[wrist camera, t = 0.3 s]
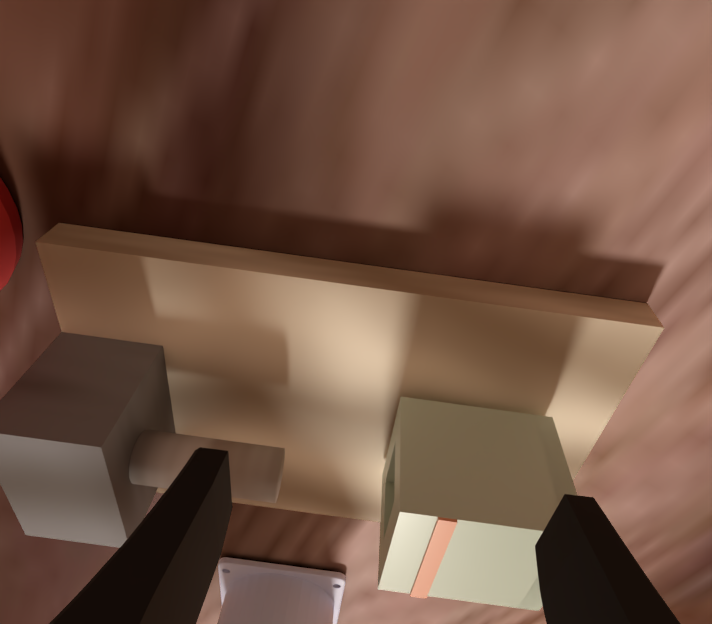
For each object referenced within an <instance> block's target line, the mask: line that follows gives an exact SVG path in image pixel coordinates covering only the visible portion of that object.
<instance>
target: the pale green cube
mask: <svg viewBox="0 0 712 624" xmlns="http://www.w3.org/2000/svg"><path fill="white" fill-rule="evenodd" d="M564 494H569V495H577V492H576V489H575V486H574V483H573V480H572V477H571V474H570V471H569V467H568V464H567V461H566V458H565V455H564V452H563V449H562V445H561V442H560V439H559V436H558V433H557V430H556V427H555V423H554V420H553V417H548V416H540V415H533V414H526V413H518V412H511V411H504V410H496V409H489V408H482V407H474V406H467V405H459V404H452V403H445V402H437V401H430V400H423V399H415V398H408V397H400V401H399V406H398V410H397V414H396V418H395V423H394V427H393V431H392V436H391V440H390V444H389V449H388V453H387V457H386V462H385V466H384V470H383V474H382V497H381V521H380V546H379V571H378V589H379V590H387V591H394V592H402V593H409V594H410V596H411V597H418V598H425V599H426V598H427V596H431V597H439V598H446V599H454V600H461V601H469V602H476V603H483V604H491V605H498V606H506V607H513V608H521V609H528V610H535V611H539V610H540V609H541V607H542V606H543V604H542V600H541V594H540V587H539V579H538V571H537V561H536V552H535V545H536V543H537V541H538V540H539V538H540V536H541V534H542V533H543V531H544V529H545V527H546V526H547V524H548V522H549V520H550V519H551V517H552V515H553V513H554V512H555V510H556V508H557V507H558V505H559V503H560V501H561V500H562V498H563V496H564Z"/></svg>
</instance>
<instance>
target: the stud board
mask: <svg viewBox="0 0 712 624" xmlns="http://www.w3.org/2000/svg"><path fill="white" fill-rule="evenodd" d="M35 243H36V246H37V250H38V253H39V256H40V260H41V263H42V267H43V270H44V273H45V277H46V280H47V284H48V287H49V290H50V294H51V297H52V301H53V304H54V307H55V311H56V314H57V318H58V321H59V324H60V328H61V331H62V332H61V333H60V334H59V336H58V337H57V338H56V339H55V340H54V341H53V342H52V343H51V344H50V346H49V347H48V348H47V349H46V350H45V351H44V352H43V353H42V355H41V356H40V357H39V358H38V359H37V360H36V361H35V362H34V363H33V365H32V366H31V367H30V368H29V369H28V370H27V371H26V372H25V374H24V375H23V376H22V377H21V378H20V379H19V380H18V381H17V382H16V384H15V385H14V386H13V387H12V388H11V389H10V390H9V391H8V392H7V394H6V395H5V396H4V397H3V398H2V399H1V400H0V484H1V486H2V488H3V490H4V492H5V494H6V496H7V498H8V500H9V502H10V504H11V506H12V508H13V510H14V512H15V514H16V516H17V518H18V520H19V522H20V524H21V526H22V528H23V530H24V532H25V534H26V535H30V536H37V537H45V538H52V539H60V540H67V541H74V542H82V543H89V544H97V545H104V546H112V547H119V548H120V547H121V546H122V545H123V544H124V542H125V541H126V540H127V539H128V538H129V536H130V535H131V534H132V533H133V532H134V530H135V529H136V528H137V527H138V525H139V524H140V523H141V522H142V521H143V519H144V517H145V515H146V513H147V511H148V508H149V506H150V504H151V502H152V500H153V497H154V495H155V493H156V492H159V493H165V492H166V490H167V489H168V488H169V486H170V485H171V484H172V482H173V481H174V480H175V478H176V477H177V476H178V474H179V473H180V471H181V470H182V469H183V467H184V466H185V464H186V463H187V461H188V460H189V459H190V457H191V456H192V454H193V453H194V451H195V450H196V449H198V448H200V447H202V448H210V449H218V450H226V451H228V453H229V467H230V481H231V495H232V502H233V503H240V504H247V505H255V506H262V507H270V508H277V509H285V510H292V511H299V512H307V513H314V514H322V515H329V516H336V517H344V518H351V519H359V520H366V521H373V522H380V521H381V497H382V474H383V470H384V466H385V462H386V457H387V453H388V449H389V444H390V440H391V436H392V431H393V427H394V423H395V418H396V414H397V410H398V406H399V401H400V397H408V398H415V399H423V400H430V401H437V402H445V403H452V404H459V405H467V406H474V407H482V408H489V409H496V410H504V411H511V412H518V413H526V414H533V415H540V416H548V417H553V420H554V423H555V427H556V430H557V433H558V436H559V439H560V442H561V445H562V449H563V452H564V455H565V458H566V461H567V464H568V467H569V471H570V474H571V477H572V480H574V478H575V476H576V475H577V473H578V471H579V470H580V468H581V466H582V465H583V463H584V461H585V460H586V458H587V456H588V454H589V453H590V451H591V449H592V448H593V446H594V444H595V443H596V441H597V439H598V438H599V436H600V434H601V433H602V431H603V429H604V428H605V426H606V424H607V423H608V421H609V419H610V418H611V416H612V414H613V413H614V411H615V409H616V408H617V406H618V404H619V403H620V401H621V399H622V398H623V396H624V394H625V393H626V391H627V389H628V388H629V386H630V384H631V383H632V381H633V379H634V378H635V376H636V374H637V373H638V371H639V369H640V368H641V366H642V364H643V362H644V361H645V359H646V357H647V356H648V354H649V352H650V351H651V349H652V347H653V346H654V344H655V342H656V341H657V339H658V337H659V336H660V334H661V332H662V331H663V329H664V327H663V325H662V324H661V322H660V321H659V320H658V318H657V317H656V315H655V314H654V312H653V311H652V309H651V308H650V306H649V305H648V304H647V303H641V302H634V301H626V300H619V299H612V298H605V297H597V296H590V295H583V294H575V293H568V292H561V291H554V290H546V289H539V288H532V287H524V286H517V285H510V284H502V283H495V282H488V281H481V280H473V279H466V278H459V277H451V276H444V275H437V274H429V273H422V272H415V271H408V270H400V269H393V268H386V267H378V266H371V265H364V264H356V263H349V262H342V261H335V260H327V259H320V258H313V257H305V256H298V255H291V254H283V253H276V252H269V251H262V250H254V249H247V248H240V247H232V246H225V245H218V244H211V243H203V242H196V241H189V240H181V239H174V238H167V237H159V236H152V235H145V234H138V233H130V232H123V231H116V230H108V229H101V228H94V227H86V226H79V225H72V224H65V223H58V224H57V225H56V226H54V227H53V228H52V229H51V230H49V231H48V232H47V233H46V234H44V235H43V236H42V237H41V238H39V239H38V240H37V241H35Z"/></svg>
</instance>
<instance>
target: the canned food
mask: <svg viewBox="0 0 712 624" xmlns="http://www.w3.org/2000/svg"><path fill="white" fill-rule="evenodd" d="M22 246H23V233H22V224H21V220H20V217H19V213H18V210H17V207H16V205H15V203H14V201H13V199H12V197H11V194H10V192H9V190H8V188H7V187H6V185H5V184H4V182H3V181H2V179H1V178H0V290H1V289H2V288H3V287H4V286H5V285H6V284H7V283H8V281H9V279H10V277H11V275H12V273H13V271H14V269H15V267H16V265H17V263H18V261H19V259H20V257H21V252H22Z"/></svg>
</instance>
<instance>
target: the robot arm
mask: <svg viewBox="0 0 712 624" xmlns="http://www.w3.org/2000/svg"><path fill="white" fill-rule="evenodd" d="M231 511H232V495H231V481H230V467H229V453H228V451H226V450H218V449H210V448H202V447H200V448H198V449H196V450H195V451H194V453H193V454H192V456H191V457H190V459H189V460H188V461H187V463H186V464H185V466H184V467H183V469H182V470H181V471H180V473H179V474H178V476H177V477H176V478H175V480H174V481H173V482H172V484H171V485H170V486H169V488H168V489H167V490H166V492H165V493H164V494H163V495H162V497H161V498H160V499H159V501H158V502H157V503H156V505H155V506H154V507H153V508H152V510H151V511H150V512H149V513H148V514H147V516H146V517H145V518H144V519H143V521H142V522H141V523H140V524H139V525H138V527H137V528H136V529H135V530H134V532H133V533H132V534H131V535H130V536H129V538H128V539H127V540H126V541H125V542H124V544H123V545H122V546H121V547H120V548H119V549H118V551H117V552H116V553H115V554H114V555H113V556H112V557H111V558H110V559H109V561H108V562H107V563H106V564H105V565H104V566H103V567H102V568H101V569H100V571H99V572H98V573H97V574H96V575H95V576H94V577H93V578H92V579H91V581H90V582H89V583H88V584H87V585H86V586H85V587H84V588H83V589H82V590H81V591H80V592H79V594H78V595H77V596H76V597H75V598H74V599H73V600H72V601H71V602H70V603H69V604H68V605H67V606H66V607H65V608H64V609H63V610H62V611H61V612H60V613H59V614H58V615H57V616H56V617H55V618H54V619H53V620H52V621H51V622H50V623H49V624H196V622H197V619H198V616H199V614H200V611H201V608H202V605H203V602H204V600H205V597H206V594H207V591H208V589H209V586H210V583H211V580H212V577H213V575H214V572H215V569H216V566H217V563H218V560H219V558H220V554H221V551H222V547H223V543H224V539H225V535H226V531H227V527H228V523H229V519H230V515H231ZM535 552H536V561H537V571H538V579H539V587H540V594H541V600H542V604H543V609H544V613H545V618H546V622H547V624H680V622H679V621H678V620H677V618H676V617H675V615H674V614H673V613H672V611H671V610H670V609H669V607H668V606H667V604H666V603H665V602H664V600H663V599H662V597H661V596H660V595H659V593H658V592H657V590H656V589H655V588H654V586H653V585H652V583H651V582H650V580H649V579H648V578H647V576H646V575H645V573H644V572H643V570H642V569H641V567H640V566H639V564H638V563H637V561H636V560H635V559H634V557H633V556H632V554H631V553H630V551H629V550H628V548H627V547H626V545H625V544H624V542H623V541H622V539H621V538H620V536H619V535H618V533H617V532H616V530H615V529H614V527H613V526H612V524H611V523H610V521H609V520H608V518H607V517H606V515H605V514H604V512H603V511H602V509H601V508H600V506H599V505H598V503H597V502H596V501H595V499H594V498H593V497H585V496H577V495H569V494H564V496H563V498H562V500H561V501H560V503H559V505H558V507H557V508H556V510H555V512H554V513H553V515H552V517H551V519H550V520H549V522H548V524H547V526H546V527H545V529H544V531H543V533H542V534H541V536H540V538H539V540H538V541H537V543H536V545H535ZM218 571H219V581H220V592H221V603H222V609H221V612H220V616H219V620H218V623H217V624H337V622H338V617H339V612H340V607H341V602H342V597H343V592H344V587H345V582H346V576H345V575H344V574H343V573H340V572H333V571H326V570H318V569H311V568H303V567H296V566H289V565H281V564H274V563H266V562H259V561H251V560H244V559H237V558H229V557H223V558H221V559H220V560H219V564H218Z"/></svg>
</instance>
